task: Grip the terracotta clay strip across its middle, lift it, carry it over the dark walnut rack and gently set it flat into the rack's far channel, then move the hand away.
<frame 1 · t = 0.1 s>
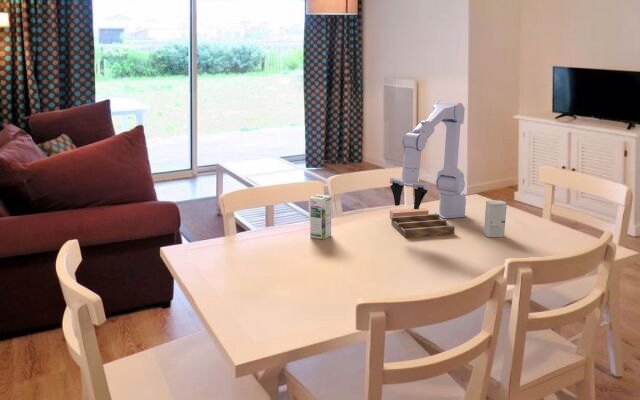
hand: (406, 207, 225), 11 cm above the table, tool pointing down, fingers open, 7 cm apart
clay strip: (408, 219, 248), on the table
skincare box: (494, 235, 228), on the table
rack: (422, 229, 235), on the table
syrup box: (320, 236, 229), on the table
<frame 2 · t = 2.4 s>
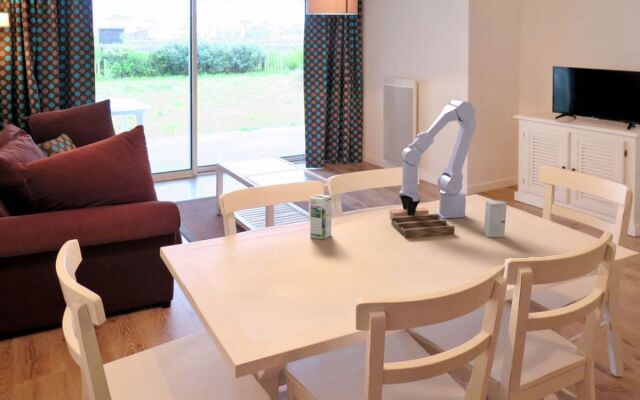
hand: (409, 214, 248), 1 cm above the table, tool pointing down, fingers closed on clay strip, 4 cm apart
clay strip: (408, 219, 248), on the table, touching gripper
everything else where it was.
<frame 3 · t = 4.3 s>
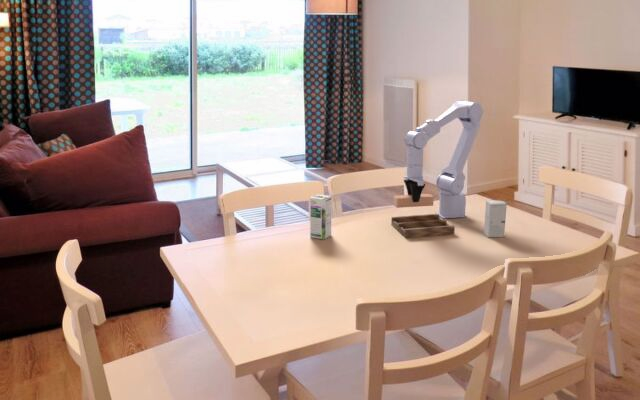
hand: (413, 200, 242), 8 cm above the table, tool pointing down, fingers closed on clay strip, 4 cm apart
clay strip: (413, 205, 242), point 6 cm above the table, touching gripper
everything else where it was.
when the fingers open (4 cm above the table, at t = 6.2 s): clay strip stays where it is, resting on rack.
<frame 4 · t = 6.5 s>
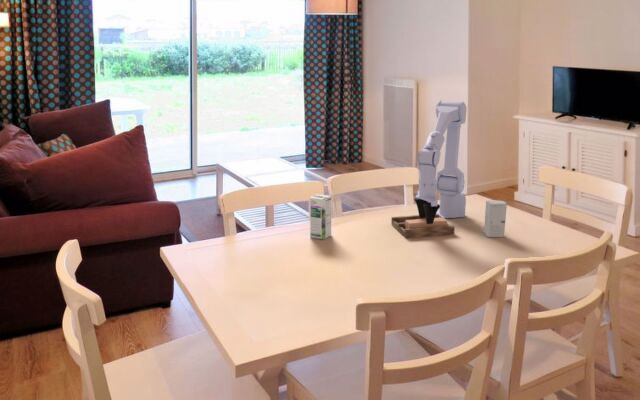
hand: (426, 220, 231), 4 cm above the table, tool pointing down, fingers open, 6 cm apart
clay strip: (425, 229, 231), point 1 cm above the table, touching rack
everything else where it was.
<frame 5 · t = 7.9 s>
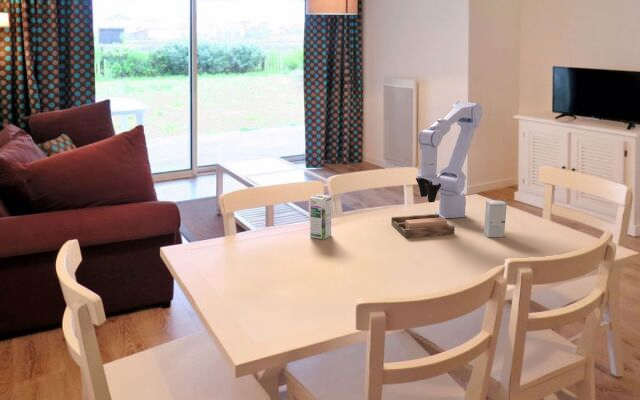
hand: (427, 199, 239), 9 cm above the table, tool pointing down, fingers open, 7 cm apart
nothing on the table moved.
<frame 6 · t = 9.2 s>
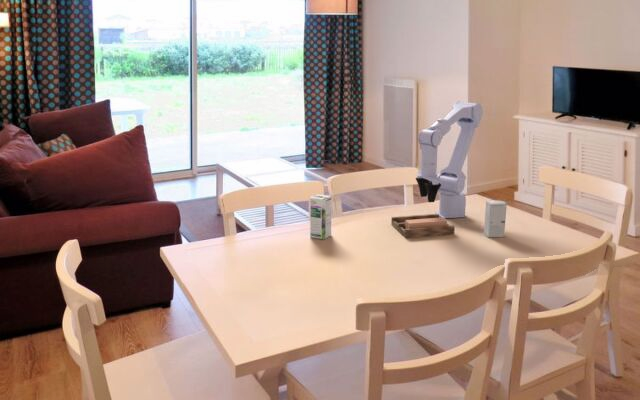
hand: (427, 199, 239), 9 cm above the table, tool pointing down, fingers open, 7 cm apart
nothing on the table moved.
at the end: clay strip 0.0 cm from the target spot on the rack, point 1.0 cm above the rack's base; clay strip tilted 0°; the gripper is holding nothing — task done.
